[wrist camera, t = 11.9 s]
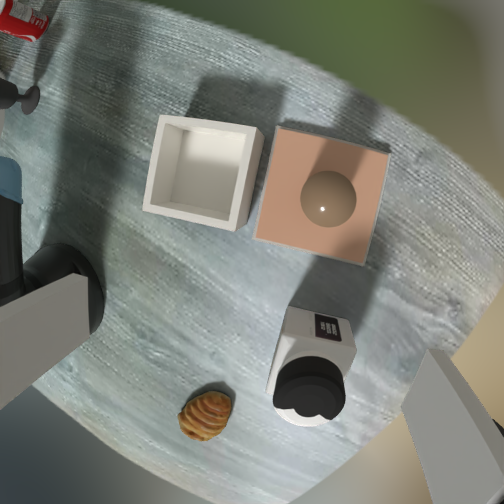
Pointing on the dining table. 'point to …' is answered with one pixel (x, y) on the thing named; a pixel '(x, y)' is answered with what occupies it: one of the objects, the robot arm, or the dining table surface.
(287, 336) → the container
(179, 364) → the dining table surface
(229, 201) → the white open box
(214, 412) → the pastry
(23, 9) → the soda can
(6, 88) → the sundae
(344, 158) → the lid
